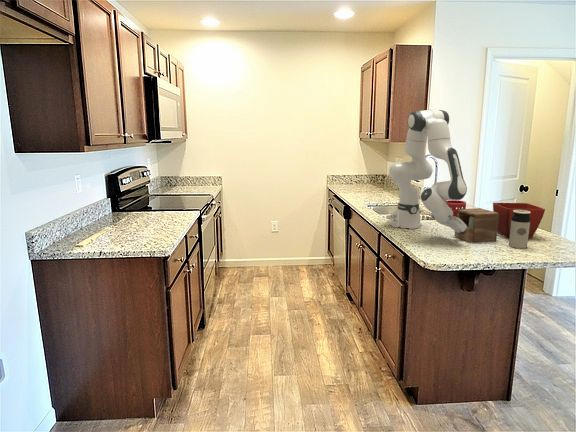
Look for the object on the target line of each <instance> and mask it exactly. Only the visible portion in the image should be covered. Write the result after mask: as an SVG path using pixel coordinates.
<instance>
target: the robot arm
mask: <svg viewBox="0 0 576 432" xmlns="http://www.w3.org/2000/svg"><path fill="white" fill-rule="evenodd" d="M449 124H450V115H449V113H448V112H447V111H446V110H443V109H442V110H441V109H425V110H415V111H411V112H410V113H409V115H408V117H407V126H408V130H407V133H406V140H405V145H404V153H405V154H406V155H407V156H408V157H410V158H411V161H399V162H398V161H397V162H393V163H392V164H391V165H390V166H389V170H388V173H389V174H388V175H389V176H390V178H391V179H392V180H393V181H394V182H395V183H396V185H397V187H398V190H399V202H398V203H397V207H396V209H395V210H394V211H393V212H391V214H390V219H388V220H386V223H387V222H388V224H389V225H390V226H391V225H392V228H398V227H401V228H400V229H406V228H409V229H410V230H411V229H412V230H413V229H419V228H421V227H422V225H423V224H422V223H421V213H420V211H419V210H420V203H419V199H420V200H421V203H422V204H423V206H424V207H425V208H426V210H427V211H429V212H430V214H429V215H430V217H431V218H433V219H434V220H435V221H436V222H437V223H439V224H440V225H442V226H445V227H448V228H451V230H453V231H454V233H455V232H458V233H460V232H464V231H465V230H466V228H467V225H466V224H465V223H464V222H463V221H462V220H461V219H460V218H458V217H455V216H453V211H452V210H451V209H452V208H450V207H449V206H448V205H447V204H446V201H449V200H459V201H462V200H463V199H464V197H465V196H466V194H467V192H468V187H467V184H466V182H465V179H464V176H463V175H464V174H463V171H462V167H461V162H460V157H459V154H458V151H457V150H456V148H454V147H453V144H452V141H451V134H450V128H449ZM426 144H427V150H428V152H429V154H430V155H431V156H432V157H434V158H436V159H439V160H442V161H444V162H445V163H446V165H447V167H448V172H449V175H450V176H449V177H450V180H445V181H437V182H434V183H433V184H432V185H431V187H428V188H426V189H424V190H423V191H422V192H421V194H420V191H419V189H418V188H417V187H415V186H414V185H412V181H423V180H427V179H430V178H431V177H432V174H433V170H434V169H433V166H432V165H431V163H430V162H429V161H428V160H427V158H426ZM409 229H408V230H409Z"/></svg>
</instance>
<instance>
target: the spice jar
mask: <svg viewBox="0 0 576 432" xmlns="http://www.w3.org/2000/svg"><path fill="white" fill-rule="evenodd" d="M473 227H474V216H470V218H469V228H472V229H473Z"/></svg>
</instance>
